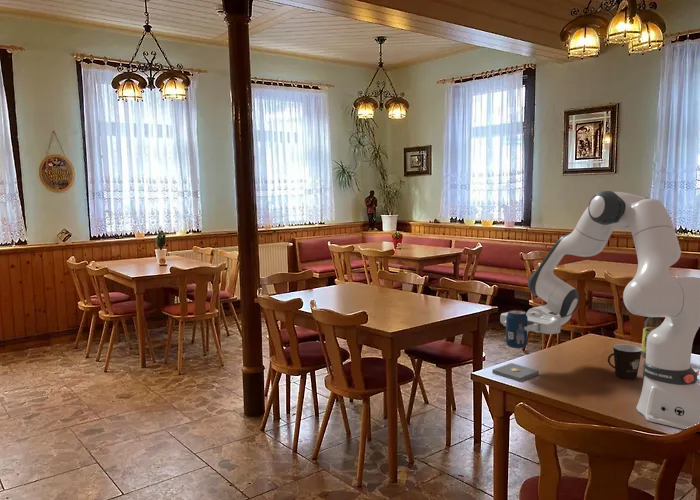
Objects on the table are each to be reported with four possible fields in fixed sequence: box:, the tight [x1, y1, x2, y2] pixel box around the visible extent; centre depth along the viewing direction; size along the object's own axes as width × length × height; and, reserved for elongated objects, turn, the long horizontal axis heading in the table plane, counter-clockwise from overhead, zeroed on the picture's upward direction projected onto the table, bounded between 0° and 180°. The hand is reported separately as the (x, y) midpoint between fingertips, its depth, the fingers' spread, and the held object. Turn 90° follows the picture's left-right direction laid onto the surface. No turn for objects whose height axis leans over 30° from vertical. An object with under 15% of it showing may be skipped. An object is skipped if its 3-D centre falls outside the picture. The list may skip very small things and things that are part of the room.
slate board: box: [491, 362, 540, 382], centre depth 197 cm, size 11×11×1 cm
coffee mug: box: [607, 343, 642, 381], centre depth 192 cm, size 12×9×10 cm
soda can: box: [505, 309, 528, 350], centre depth 195 cm, size 7×7×12 cm
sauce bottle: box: [641, 317, 663, 359], centre depth 212 cm, size 6×6×20 cm
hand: (515, 326), depth 195 cm, fingers closed on soda can, 7 cm apart
